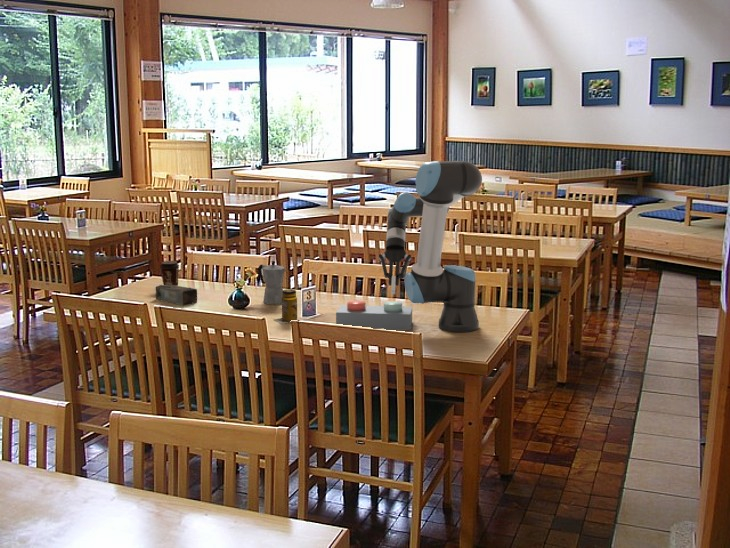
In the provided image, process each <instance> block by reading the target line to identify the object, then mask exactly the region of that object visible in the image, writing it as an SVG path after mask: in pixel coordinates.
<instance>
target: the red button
mask: <svg viewBox="0 0 730 548" xmlns="http://www.w3.org/2000/svg"><path fill="white" fill-rule="evenodd" d="M346 305H347V310H349V311H363V310H365V309H366V306H367V305H366V302H365V301H363V300H349V301H347V302H346Z"/></svg>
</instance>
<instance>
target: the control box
mask: <svg viewBox="0 0 730 548" xmlns="http://www.w3.org/2000/svg"><path fill="white" fill-rule="evenodd" d="M412 323H413V306H402V311H400V312H386V311H384V305H366V309H365V310H363V311H349V310H347V304H340V305H339V307H338V308H337V310H336V312H335V325H336V324H343V325H352V326H362V327H371V328H384V329H383V330H394V329H395V330H399V331H400V330H401V331H403V330H404V331H411V328H412V325H413V324H412Z"/></svg>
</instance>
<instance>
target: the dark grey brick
mask: <svg viewBox="0 0 730 548" xmlns="http://www.w3.org/2000/svg"><path fill="white" fill-rule="evenodd" d="M155 299H156V300H157V299H158V301H161V300H162V302H166V301H167V302H166V303H170V304H171V303H172V304H177V305H181V306H186V305H191V304H195V303H198V288H193V287H186V286H181V285H178V286H176V285H172V284H167V285H164V284H159V285H156V286H155Z"/></svg>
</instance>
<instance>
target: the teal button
mask: <svg viewBox="0 0 730 548" xmlns="http://www.w3.org/2000/svg"><path fill="white" fill-rule="evenodd" d="M383 306H384V311H386V312H400V311H402V307H403V303H402V302H400V301H385V302H384V303H383Z"/></svg>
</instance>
